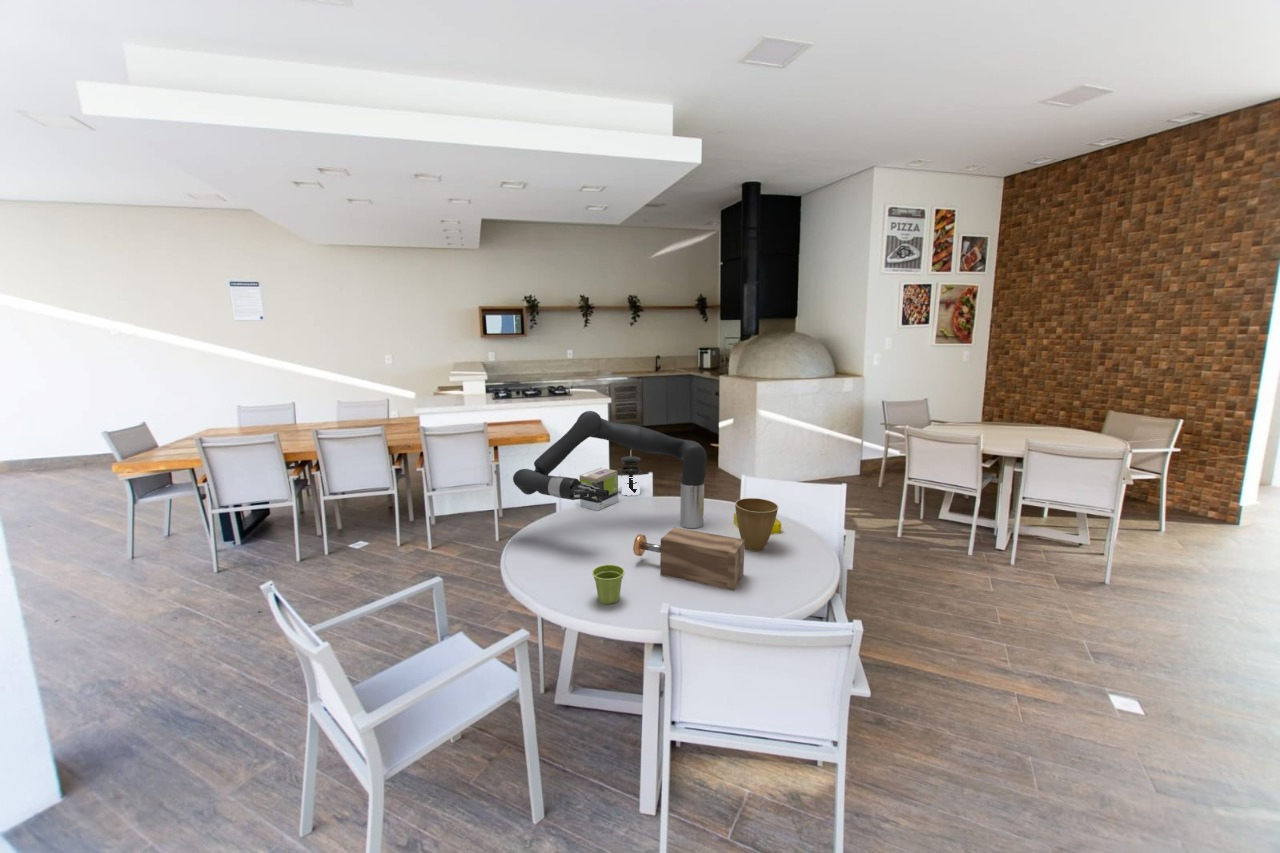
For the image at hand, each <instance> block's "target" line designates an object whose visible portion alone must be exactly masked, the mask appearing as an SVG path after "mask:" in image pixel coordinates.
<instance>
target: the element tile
mask: <svg viewBox="0 0 1280 853" xmlns="http://www.w3.org/2000/svg"><path fill="white" fill-rule="evenodd" d="M733 525H735V526H736V528H737V529H738V530H739V528H738V523H737V517H736V512H735V513H733ZM780 532H781V533H782V522H781V521H780V520H779V519H777V518H776V519H775V523H774V526H773V529H772V532H771V535H775V534H774V533H779V534H781V533H780Z"/></svg>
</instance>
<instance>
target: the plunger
mask: <svg viewBox="0 0 1280 853" xmlns="http://www.w3.org/2000/svg"><path fill="white" fill-rule="evenodd" d="M632 549H633V550H632V551H633V554H634V555H635V556H638V557H642V556H643V555H644V554H645V552H646V551H649V552H653V553H659V554H661V544H655V543H650V542H647V536H646V535H645V534H637V535H636V536H635V538H634V541H633V548H632Z"/></svg>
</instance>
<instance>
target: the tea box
mask: <svg viewBox="0 0 1280 853" xmlns="http://www.w3.org/2000/svg"><path fill="white" fill-rule="evenodd" d="M579 481H580V483H581V484H587V485H591V483H596V484H597V485H599V486H601V489H603V490H609V496H608V497H607V498H600V497H596V498H593V497H592V499H579V500H580V507H581V508H584V509H588V510H592V511H596V512H597V511H600V510H602V509H604V508H607V507H609V506H611V505H613V504H616V503H618V502H619V488H618V486H619V473H618V474H617V469H616V470H615V469H610V468H609V469H608V468H603V467H599V468H596V469H593V470H590V471H587V472H585V473H581V474H579Z"/></svg>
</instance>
